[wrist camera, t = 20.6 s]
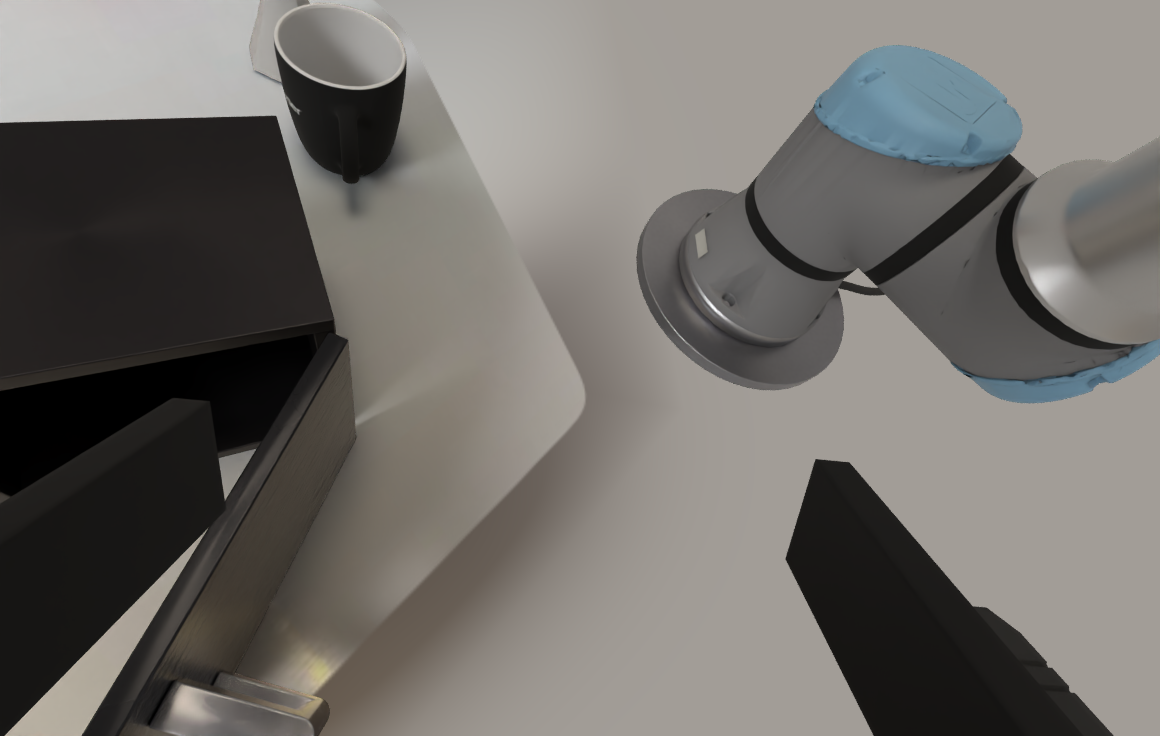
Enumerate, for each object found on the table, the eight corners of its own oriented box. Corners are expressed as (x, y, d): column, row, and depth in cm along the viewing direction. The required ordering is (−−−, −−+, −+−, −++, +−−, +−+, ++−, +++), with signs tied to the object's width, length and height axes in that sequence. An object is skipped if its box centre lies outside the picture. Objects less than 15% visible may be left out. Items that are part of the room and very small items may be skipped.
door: (436, 466, 40) (464, 384, 27) (309, 765, 31) (265, 848, 18) (342, 431, 39) (328, 330, 26) (183, 730, 30) (44, 794, 17)
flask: (240, 76, 49) (211, -44, 40) (258, 24, 52) (236, -98, 43) (329, 97, 51) (320, -12, 42) (342, 46, 54) (336, -66, 46)
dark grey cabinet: (347, 425, 39) (334, 319, 26) (9, 511, 31) (-241, 420, 19) (305, 272, 43) (276, 115, 30) (-5, 314, 35) (-221, 127, 22)
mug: (289, 106, 49) (272, -9, 40) (396, 117, 52) (401, 13, 44) (292, 215, 45) (273, 113, 36) (409, 220, 48) (416, 127, 39)
